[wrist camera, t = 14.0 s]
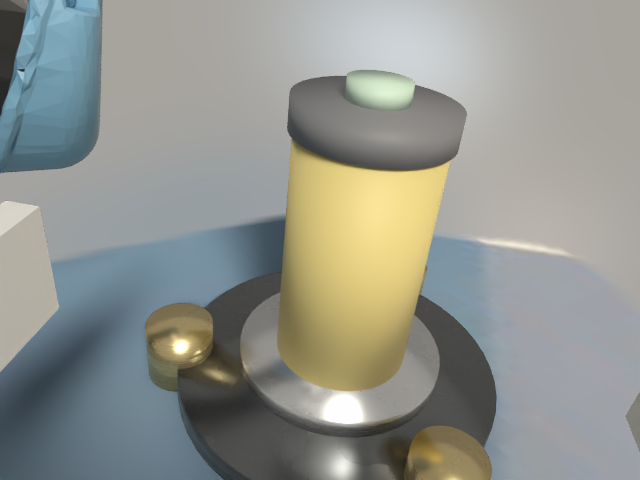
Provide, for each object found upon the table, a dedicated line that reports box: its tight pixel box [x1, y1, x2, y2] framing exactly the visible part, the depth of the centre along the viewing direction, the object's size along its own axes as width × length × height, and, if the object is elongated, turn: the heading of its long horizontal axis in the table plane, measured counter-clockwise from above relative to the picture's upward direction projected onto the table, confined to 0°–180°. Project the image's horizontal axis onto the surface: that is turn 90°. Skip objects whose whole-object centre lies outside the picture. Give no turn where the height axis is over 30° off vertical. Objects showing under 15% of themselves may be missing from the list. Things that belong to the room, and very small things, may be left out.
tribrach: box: [145, 266, 496, 480], centre depth 28 cm, size 17×18×3 cm
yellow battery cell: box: [277, 70, 467, 391], centre depth 24 cm, size 7×7×13 cm
